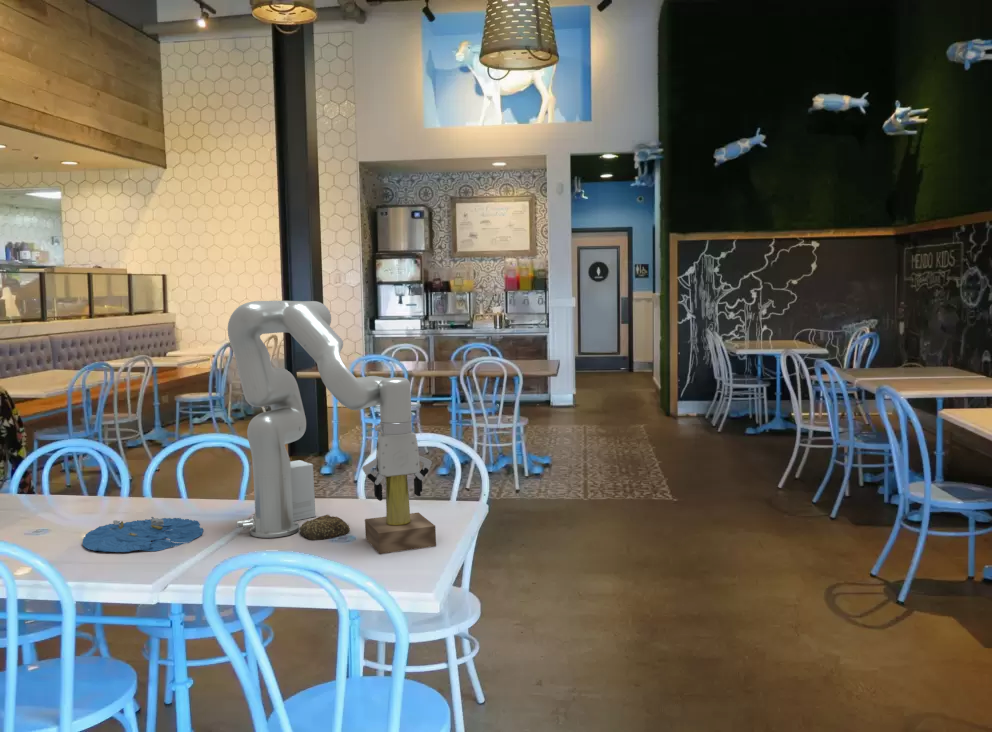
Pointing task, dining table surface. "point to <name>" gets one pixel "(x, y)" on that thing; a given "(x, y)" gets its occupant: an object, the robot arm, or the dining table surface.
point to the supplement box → (302, 490)
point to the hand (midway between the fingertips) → (398, 497)
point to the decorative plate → (142, 535)
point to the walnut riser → (400, 534)
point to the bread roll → (324, 528)
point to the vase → (397, 500)
